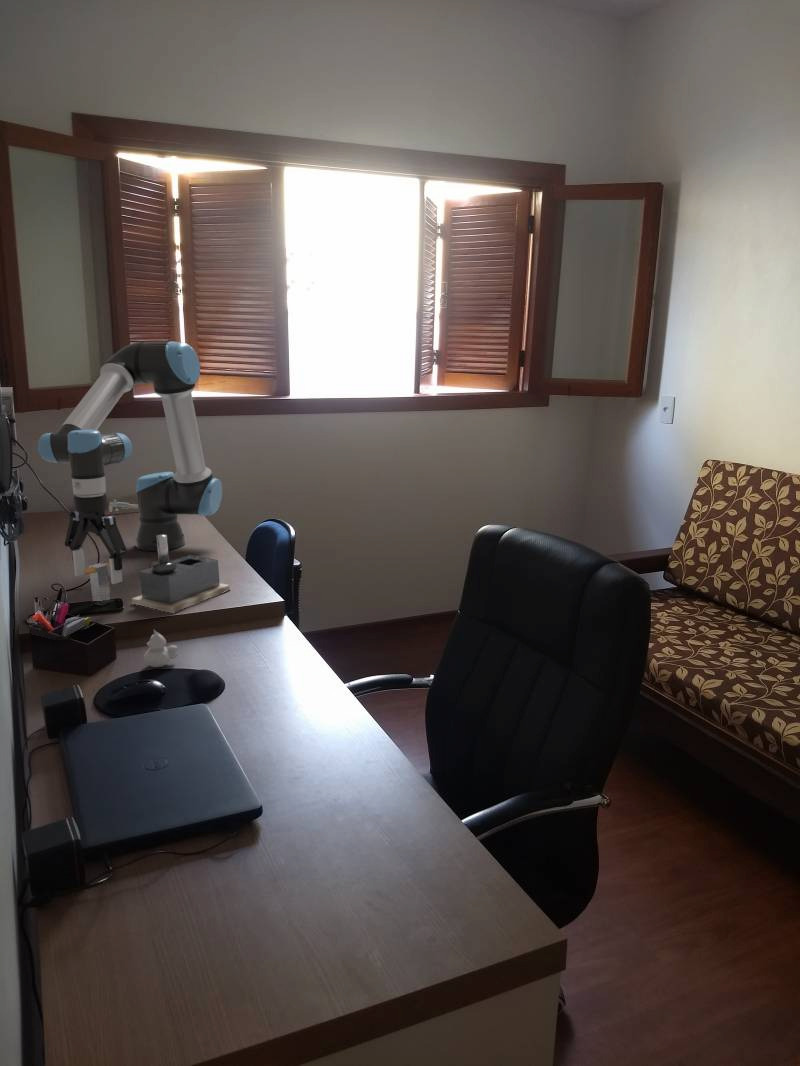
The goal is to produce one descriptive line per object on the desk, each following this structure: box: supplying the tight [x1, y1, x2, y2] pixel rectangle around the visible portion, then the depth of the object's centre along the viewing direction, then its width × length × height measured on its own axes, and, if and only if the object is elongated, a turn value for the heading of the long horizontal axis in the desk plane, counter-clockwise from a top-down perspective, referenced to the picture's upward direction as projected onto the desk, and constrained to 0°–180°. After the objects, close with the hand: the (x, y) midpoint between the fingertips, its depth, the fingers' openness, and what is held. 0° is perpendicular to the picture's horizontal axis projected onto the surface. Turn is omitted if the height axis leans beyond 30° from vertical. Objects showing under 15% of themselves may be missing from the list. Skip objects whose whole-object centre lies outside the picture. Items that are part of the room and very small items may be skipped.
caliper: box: [108, 499, 138, 512], centre depth 292 cm, size 20×1×6 cm, turn 118°
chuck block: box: [139, 534, 221, 605], centre depth 194 cm, size 17×10×16 cm, turn 150°
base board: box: [131, 582, 231, 614], centre depth 196 cm, size 20×14×2 cm
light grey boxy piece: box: [84, 561, 112, 602], centre depth 191 cm, size 7×3×10 cm, turn 150°
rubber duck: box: [143, 629, 178, 668], centre depth 155 cm, size 5×7×8 cm
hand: (98, 578), depth 190 cm, fingers open, 13 cm apart
